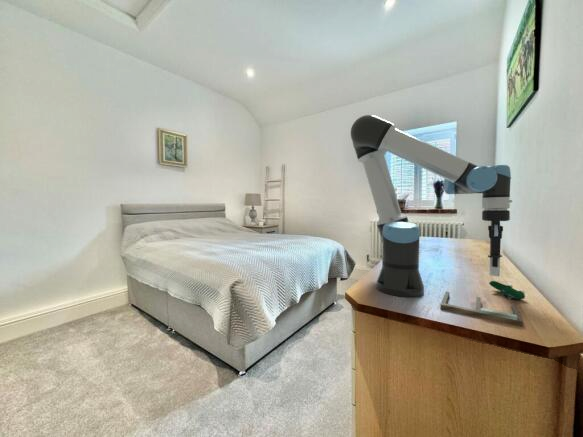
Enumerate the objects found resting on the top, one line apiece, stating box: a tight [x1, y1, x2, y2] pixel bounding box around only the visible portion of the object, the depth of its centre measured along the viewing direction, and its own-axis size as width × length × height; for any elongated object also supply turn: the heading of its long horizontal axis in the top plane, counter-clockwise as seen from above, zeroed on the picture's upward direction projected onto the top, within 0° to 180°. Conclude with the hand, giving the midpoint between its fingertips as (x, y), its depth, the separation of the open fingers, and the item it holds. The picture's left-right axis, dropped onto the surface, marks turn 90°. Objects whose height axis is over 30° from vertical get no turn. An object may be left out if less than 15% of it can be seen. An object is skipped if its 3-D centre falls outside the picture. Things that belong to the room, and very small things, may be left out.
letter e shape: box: [440, 291, 524, 327], centre depth 69 cm, size 17×14×2 cm
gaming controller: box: [488, 280, 526, 301], centre depth 79 cm, size 9×4×6 cm
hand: (494, 275), depth 88 cm, fingers closed
